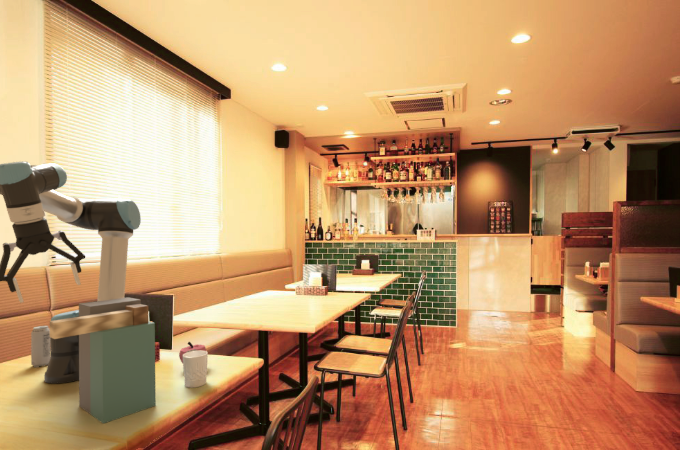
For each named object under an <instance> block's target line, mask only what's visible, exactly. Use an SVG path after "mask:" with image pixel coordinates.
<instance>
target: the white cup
mask: <svg viewBox="0 0 680 450" xmlns="http://www.w3.org/2000/svg"><path fill="white" fill-rule="evenodd" d="M208 357H209V353H208V351H207V350H206V351H202V350H199V351H191V352H187V353H185V354H183V363H182V366H183V367H182V369H183V376H184V377H183V378H184V386H185V387H186V388H198V387H202V386H205V384H206V383H207V375H208V360H209V359H208Z"/></svg>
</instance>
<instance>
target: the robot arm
mask: <svg viewBox="0 0 680 450" xmlns="http://www.w3.org/2000/svg"><path fill="white" fill-rule="evenodd" d="M67 180H68V177H67V173H66V170H65V169H64V168H63V166H61V165H60V164H57V163H54V162H53V163H43V164H31V163H29V162H28V161H26V160H25V161H13V162H6V163H4V162H3V163H0V195H1V196H2V197H3V198H2V199H3V200H4V203H5V207H6V211H7V214H8V218H9V220H10V222H11V223H13V224H12V230H13V233H14V236H15V240H16V241H15V242H9V243H8V242H4V243H3V244H2V249H3V252H2V255H1V256H2V257H1V260H0V282H6V283H7V286H8V288H9V291H10V292H11V293H15V292H16V295H17V298H18V302H19V303H20V304H23V303H24V298H23V295H22V292H21V289H20V287H19V286H20V285H19V283H18V280H17V279H16V277H15V276H16V275H17V273H18V272H19V270H20V269H21V267H22V265H23V263H24V262H25V260H26V259H27V258H28V256H29V255H30V256H31V255H32V256H34V255H35V256H36V255H37V254H41V253H46V252H47V251H48V250H50V251H52V252H55V253H57V254H58V255H61V257H64V258H66V259H67V260H70V261H71V262H69V263H70V267H71V271H72V274H73V278H74V282H75V284H76V285H77V286H80V285H82V284H81V283H82V282H81V278H80V276H79V274H80V273H82V268H81V265H80V261H82V260H83V259H86V255H85V254H84V253H83V252H82V250H81V251H80V249H78V247H77V246H75V244H74V243H72V241H70V240H69V239H68V238H67V235H66V233H65V232H64V231H63V230H59V231H58V232H55V233H51V230H50V226H49V223H48V219H47V218H45V216H46V214H45V213H47V214H50V215H53V216H55V217H56V218H57V219H58V220H59V221H60V222H63V223H66V224H68V225H70V226H71V225H72V226H74V227H77V228H80V229H84V230H88V231H89V230H91V231H97V234H98V235H99V236H100V237H101V251H100V263H99V275H98V276H99V277H98V288H97V299H96V300H97V301H104V300H112V299H120V298H125V294H126V280H127V279H126V278H127V265H128V251H129V250H128V248H129V239H130V238H131V237H132V236H134V231H135V230H137V229H139V228H140V225H141V221H142V220H141V212H140V210H139V207H138V205H137V204H136V203H135V202H134V200H131V199H129V198H107V199H106V198H105V199H81V198H79V197H78V198H77V197H75V196H67V195H64V194H62V193H61V192H58V191H56V190H57V189H59V188H61V187H63V186H65V185H66V183H67ZM54 239H57V240H58V241H59V240H60V241H62V242H63V243H64V244H65V245H66V246H67V247H68V248H69V249H70V250H71V251H72V252H73V253H74V254H75V255H76V256H75V255H72V254H70V253H69V252H67V251H65V250H63V249H61V248H59V247H58V246H56V245H54V244H53V242H54ZM15 248H18V249H20V250H21V251H20V252H19V254H18V256H17V258H16V259H15V261H14V262H13V264H12V266H11V267H10V269H9V271H7V267H8V264H9V261H10V257H11V253H12V252H13V251H14V250H15ZM6 271H7V274H6ZM5 274H6V275H5ZM74 317H79V309H75V310H71V311H66V312H62V313H58V314H55V315H53V316H52V317H51V318H50V321H54V320H61V319H68V318H74ZM43 376H44V379H43V381H44V382H45V383H47V384H63V383H65V384H66V383H71V382H77V381H79V335H75V336H69V337H63V338H58V339H53V338H51V337H50V361H49V364H48V365H47V366H46V371H45V372H44V375H43Z"/></svg>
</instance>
